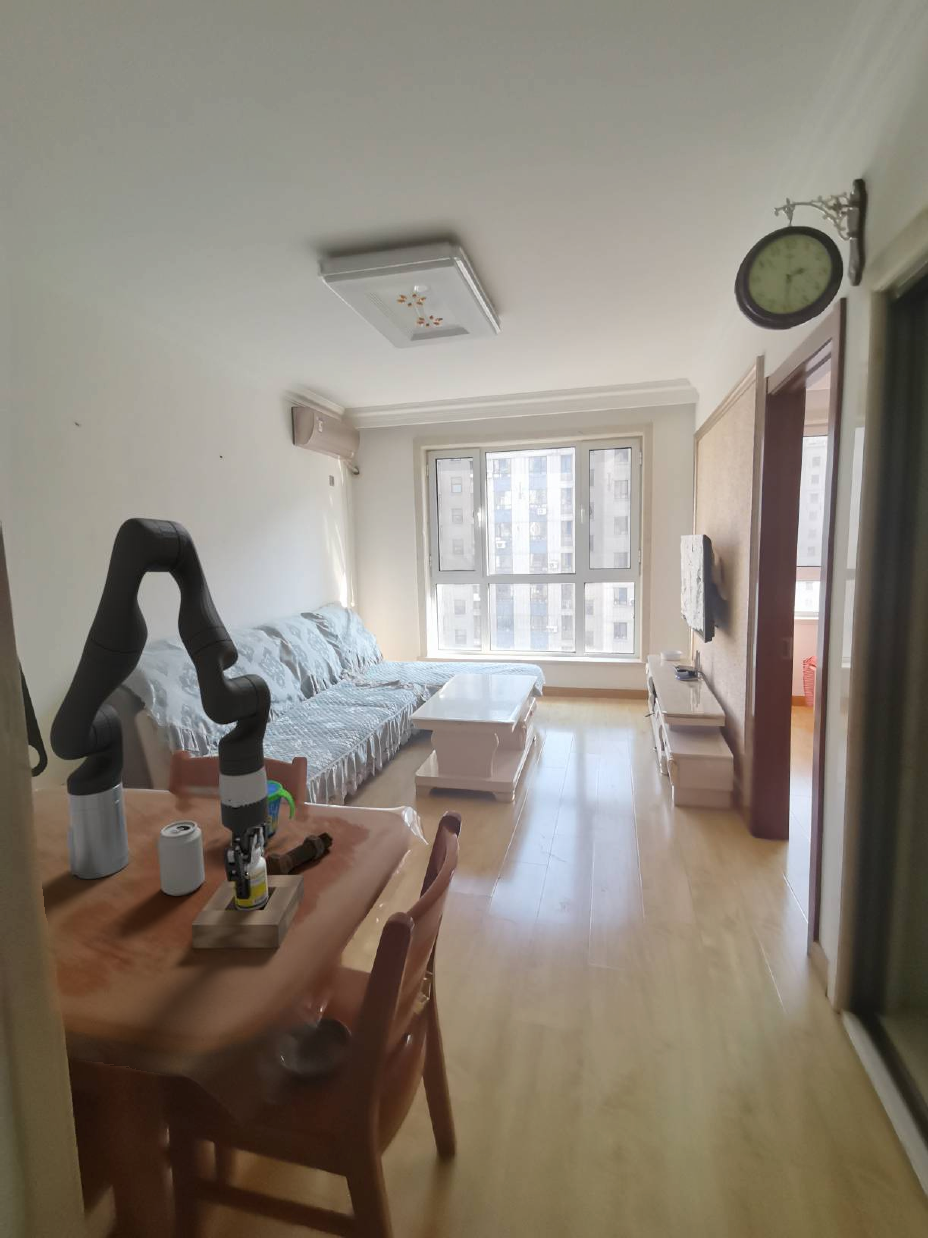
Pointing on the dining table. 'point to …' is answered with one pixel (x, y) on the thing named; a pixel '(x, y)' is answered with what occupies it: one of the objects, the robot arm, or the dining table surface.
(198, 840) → the can
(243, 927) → the socket block
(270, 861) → the bolt
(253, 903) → the supplement bottle
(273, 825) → the snack cup
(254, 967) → the dining table surface
